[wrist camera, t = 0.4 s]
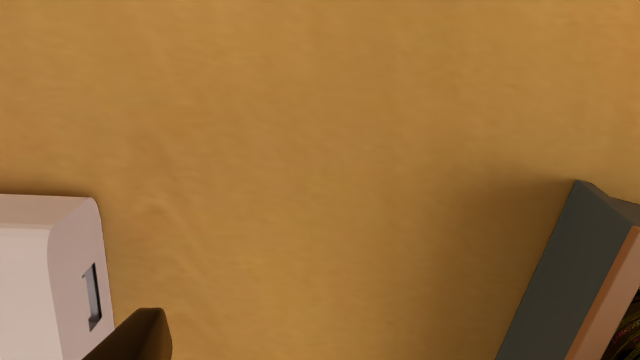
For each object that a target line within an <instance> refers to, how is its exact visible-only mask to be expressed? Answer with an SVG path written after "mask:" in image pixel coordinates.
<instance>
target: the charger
mask: <svg viewBox="0 0 640 360" xmlns="http://www.w3.org/2000/svg"><path fill="white" fill-rule="evenodd" d="M114 330H115V327H114V319H113V311H112V303H111V295H110V287H109V279H108V271H107V264H106V256H105V248H104V240H103V232H102V224H101V218H100V213H99V210H98V206H97V204H96V202H95V200H94V199H93V198H92V197H69V196H44V195H20V194H0V360H81V359H83V358H84V357H85V356H86V355H87V354H88V353H89V352H90V351H91V350H93V349H94V348H95V347H96V346H97V345H98V344H99V343H100V342H101V341H103V340H104V339H105V338H106V337H107V336H108V335H109V334H110V333H111V332H113V331H114Z"/></svg>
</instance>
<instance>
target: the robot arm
mask: <svg viewBox="0 0 640 360" xmlns="http://www.w3.org/2000/svg"><path fill="white" fill-rule="evenodd" d="M171 357H172V339H171V335H170V331H169V327H168V323H167V319H166V315H165V312H164V310H163V309H161V308H140V309H138V310H136V311H135V312H134V313H133V314H131V315H130V316H129V317H128V318H127V319H126V320H125V321H124V322H123V323H121V324H120V325H119V326H118V327H117V328H116V329H115V330H114V331H113V332H111V333H110V334H109V335H108V336H107V337H106V338H105V339H104V340H103V341H101V342H100V343H99V344H98V345H97V346H96V347H95V348H94V349H93V350H91V351H90V352H89V353H88V354H87V355H86V356H85V357H84V358H83V359H81V360H171Z"/></svg>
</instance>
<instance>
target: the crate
mask: <svg viewBox="0 0 640 360" xmlns="http://www.w3.org/2000/svg"><path fill="white" fill-rule="evenodd" d="M639 286H640V205H638V204H634V203H630V202H627V201H623V200H619V199H615V198H611V197H609V196H608V195H606V194H605V193H604V192H603V191H601V190H600V189H599V188H597V187H596V186H595V185H593V184H592V183H588V182H584V181H581V180H576V182H575V184H574V186H573V188H572V191H571V193H570V195H569V197H568V199H567V202H566V204H565V206H564V208H563V211H562V213H561V215H560V217H559V219H558V222H557V224H556V226H555V228H554V230H553V233H552V235H551V237H550V239H549V241H548V244H547V246H546V248H545V250H544V253H543V255H542V257H541V259H540V261H539V264H538V266H537V268H536V270H535V272H534V275H533V277H532V279H531V281H530V284H529V286H528V288H527V290H526V292H525V295H524V297H523V299H522V301H521V303H520V306H519V308H518V310H517V312H516V315H515V317H514V319H513V321H512V323H511V326H510V328H509V330H508V332H507V334H506V337H505V339H504V341H503V343H502V345H501V348H500V350H499V352H498V354H497V357H496V359H495V360H600V359H601V357H602V355H603V353H604V351H605V350H606V348H607V346H608V344H609V342H610V340H611V338H612V337H613V335H614V333H615V331H616V329H617V327H618V325H619V323H620V322H621V320H622V318H623V316H624V314H625V312H626V310H627V309H628V307H629V305H630V303H631V301H632V299H633V297H634V296H635V294H636V292H637V290H638V288H639Z"/></svg>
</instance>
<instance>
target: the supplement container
mask: <svg viewBox="0 0 640 360" xmlns="http://www.w3.org/2000/svg"><path fill="white" fill-rule="evenodd" d="M600 360H640V295H639V296H635V297H633V299H632V301H631V303H630V305H629V307H628V309H627V310H626V312H625V314H624V316H623V318H622V320H621V322H620V323H619V325H618V327H617V329H616V331H615V333H614V335H613V337H612V338H611V340H610V342H609V344H608V346H607V348H606V350H605V351H604V353H603V355H602V357H601V359H600Z"/></svg>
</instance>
